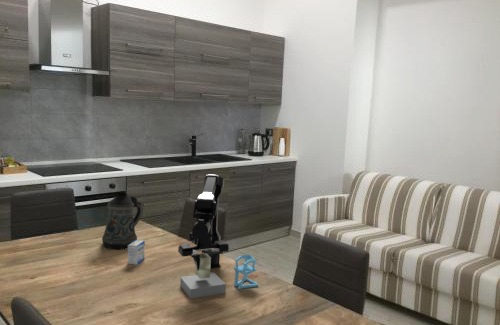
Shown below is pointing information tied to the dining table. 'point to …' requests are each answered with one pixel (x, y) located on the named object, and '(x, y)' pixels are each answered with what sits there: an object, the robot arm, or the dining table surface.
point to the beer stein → (121, 222)
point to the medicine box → (136, 252)
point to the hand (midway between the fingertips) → (203, 269)
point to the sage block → (204, 266)
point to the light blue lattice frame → (245, 271)
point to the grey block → (202, 285)
